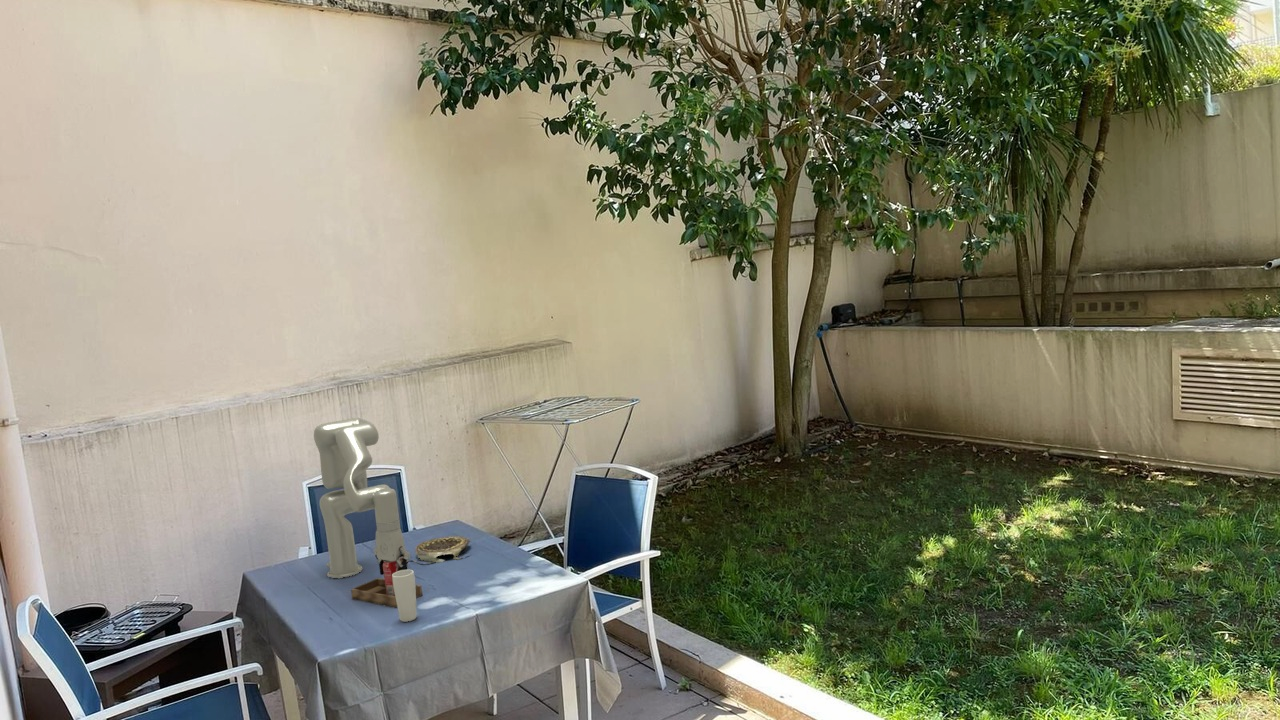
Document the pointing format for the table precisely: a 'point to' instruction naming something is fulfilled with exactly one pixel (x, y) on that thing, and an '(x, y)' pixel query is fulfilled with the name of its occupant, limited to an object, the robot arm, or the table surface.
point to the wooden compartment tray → (377, 593)
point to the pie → (441, 548)
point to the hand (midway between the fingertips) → (394, 575)
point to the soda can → (390, 575)
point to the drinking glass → (405, 594)
